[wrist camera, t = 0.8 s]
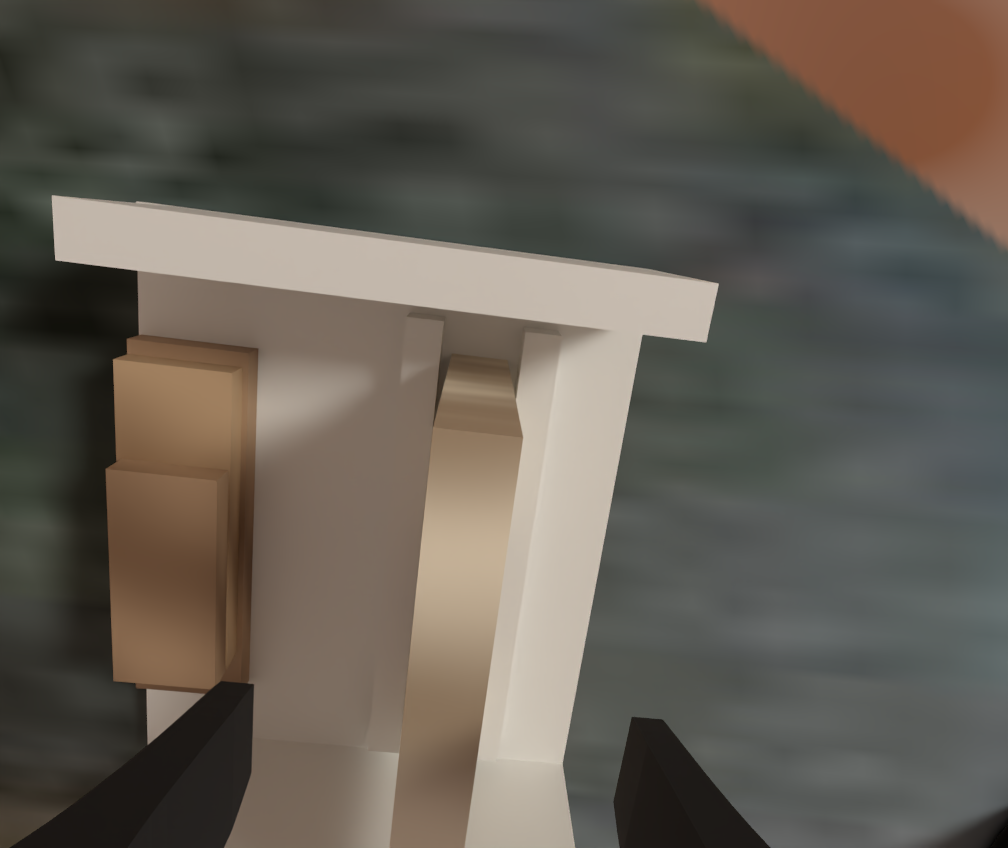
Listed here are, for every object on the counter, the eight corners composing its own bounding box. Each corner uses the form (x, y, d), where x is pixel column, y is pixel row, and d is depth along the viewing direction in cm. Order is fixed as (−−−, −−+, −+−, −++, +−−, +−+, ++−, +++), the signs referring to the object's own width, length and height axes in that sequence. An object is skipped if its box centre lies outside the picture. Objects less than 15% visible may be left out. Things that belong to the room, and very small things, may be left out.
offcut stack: (249, 680, 22) (220, 734, 19) (148, 671, 21) (108, 724, 19) (258, 348, 19) (226, 364, 16) (141, 334, 18) (92, 348, 16)
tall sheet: (461, 711, 22) (450, 941, 15) (413, 707, 22) (380, 936, 15) (507, 360, 19) (523, 437, 12) (451, 353, 19) (433, 427, 12)
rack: (554, 774, 24) (578, 944, 18) (159, 741, 23) (51, 910, 17) (647, 268, 19) (718, 283, 13) (150, 202, 18) (-3, 188, 12)
